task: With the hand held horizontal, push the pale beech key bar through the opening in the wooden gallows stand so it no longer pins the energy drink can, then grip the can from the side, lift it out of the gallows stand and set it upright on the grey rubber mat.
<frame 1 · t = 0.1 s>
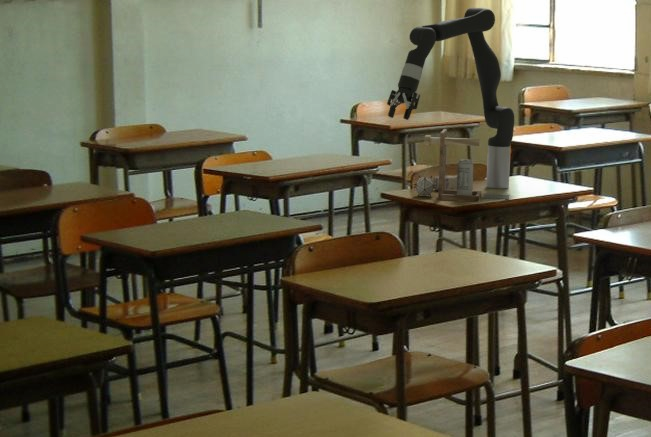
hand: (398, 118, 463), 31 cm above the table, tool tilted 20°, fingers open, 8 cm apart
wooden gallows stand: (461, 198, 476), on the table
mat: (496, 197, 479), on the table
energy drink can: (464, 198, 475), resting in wooden gallows stand
key bar: (452, 141, 472), point 22 cm above the table, slide at 0.0 cm
game die: (424, 196, 479), on the table
mineral specimen: (446, 190, 495), on the table
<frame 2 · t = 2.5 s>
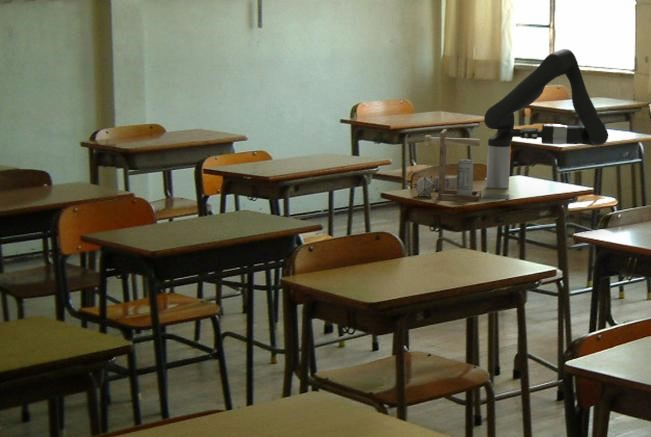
hand: (510, 132, 469), 26 cm above the table, tool horizontal, fingers open, 6 cm apart
nothing on the table moved.
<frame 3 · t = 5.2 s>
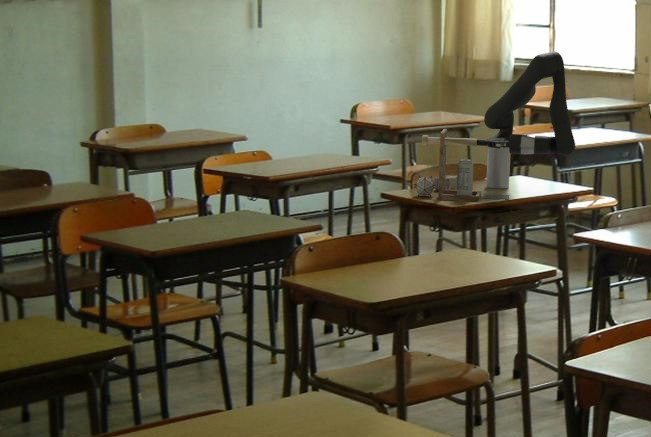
hand: (476, 142, 471), 22 cm above the table, tool horizontal, fingers closed
key bar: (449, 141, 473), point 22 cm above the table, slide at 1.0 cm, touching gripper
everything else where it was.
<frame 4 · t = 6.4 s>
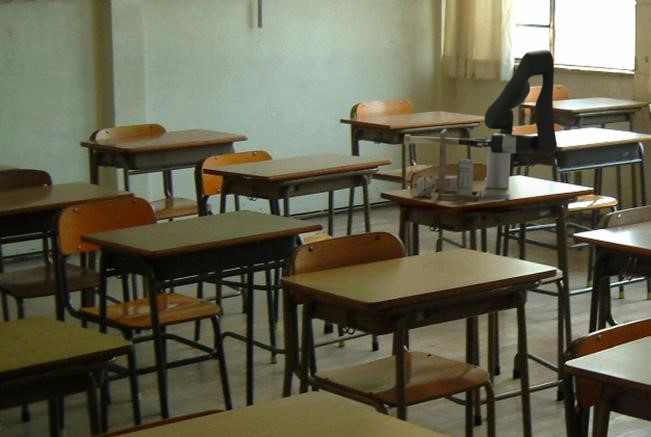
hand: (458, 141, 472), 22 cm above the table, tool horizontal, fingers closed
key bar: (431, 140, 474), point 22 cm above the table, slide at 7.9 cm, touching gripper
everything else where it was.
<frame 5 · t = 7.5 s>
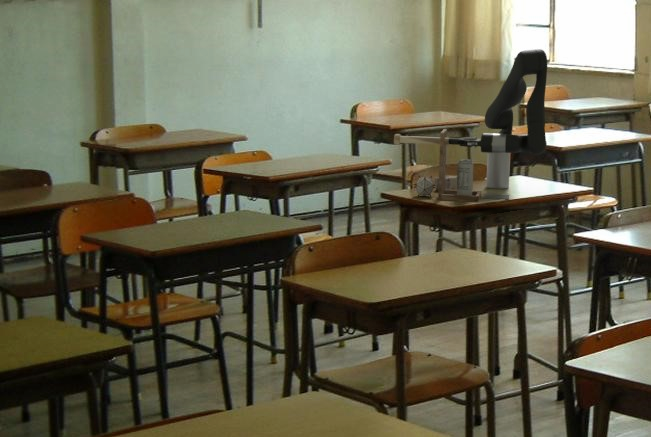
hand: (448, 141, 473), 22 cm above the table, tool horizontal, fingers closed
key bar: (421, 140, 475), point 22 cm above the table, slide at 11.9 cm, touching gripper
everything else where it was.
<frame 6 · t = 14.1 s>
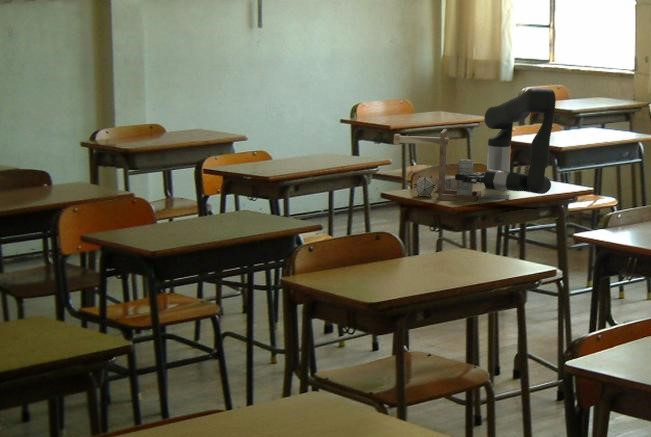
hand: (459, 175, 475), 9 cm above the table, tool horizontal, fingers closed on energy drink can, 6 cm apart
energy drink can: (464, 198, 475), resting in wooden gallows stand, touching gripper
key bar: (421, 140, 475), point 22 cm above the table, slide at 12.0 cm
when the fingers open (10 cm above the table, at t = 18.5 s): energy drink can drops 1 cm, resting on mat.
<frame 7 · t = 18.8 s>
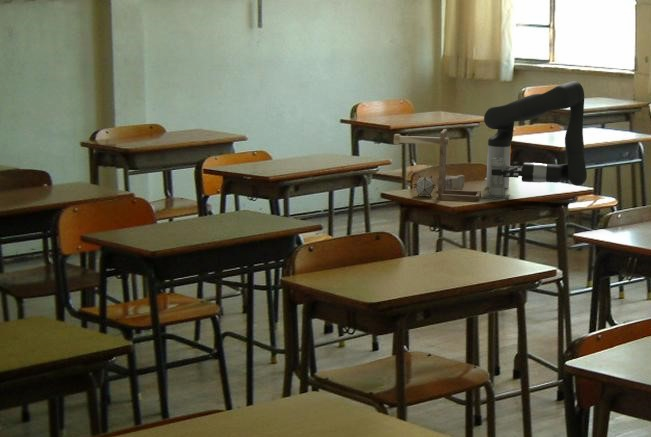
hand: (492, 170, 477), 10 cm above the table, tool horizontal, fingers open, 8 cm apart
energy drink can: (496, 196, 479), resting on mat
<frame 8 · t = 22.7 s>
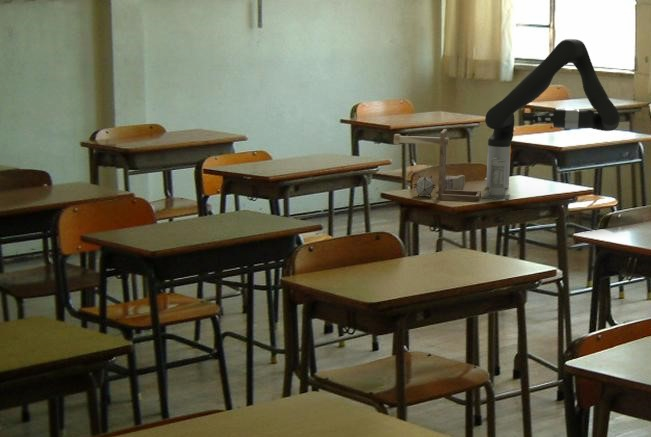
hand: (523, 116, 471), 32 cm above the table, tool horizontal, fingers open, 8 cm apart
at the end: key bar slide at 12.0 cm; energy drink can inside the target area on the mat (0.2 cm from its centre), point 0.2 cm above the mat's base; energy drink can tilted 0° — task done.
